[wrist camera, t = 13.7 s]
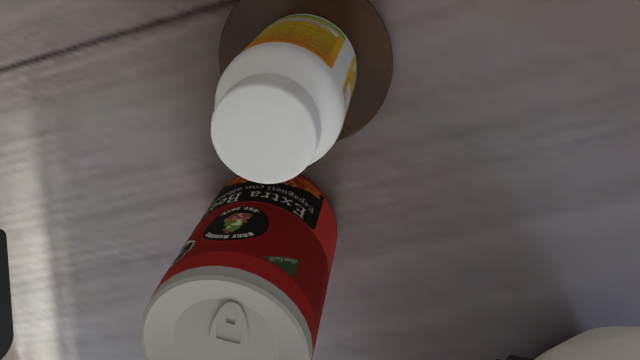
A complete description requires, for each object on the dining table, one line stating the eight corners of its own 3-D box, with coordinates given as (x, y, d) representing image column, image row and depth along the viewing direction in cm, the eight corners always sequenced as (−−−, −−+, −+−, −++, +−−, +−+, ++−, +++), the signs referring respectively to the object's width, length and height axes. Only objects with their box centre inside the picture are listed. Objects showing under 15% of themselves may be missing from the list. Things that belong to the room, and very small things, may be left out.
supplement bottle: (235, 41, 30) (162, 101, 21) (328, -8, 28) (290, 36, 19) (285, 131, 32) (237, 220, 23) (375, 90, 30) (360, 171, 21)
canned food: (334, 160, 33) (301, 275, 23) (343, 278, 36) (318, 422, 26) (203, 163, 34) (119, 273, 24) (224, 277, 37) (158, 413, 27)
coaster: (233, -47, 28) (229, -46, 28) (413, -7, 28) (413, -4, 28) (213, 121, 33) (210, 125, 32) (370, 158, 32) (369, 163, 32)
